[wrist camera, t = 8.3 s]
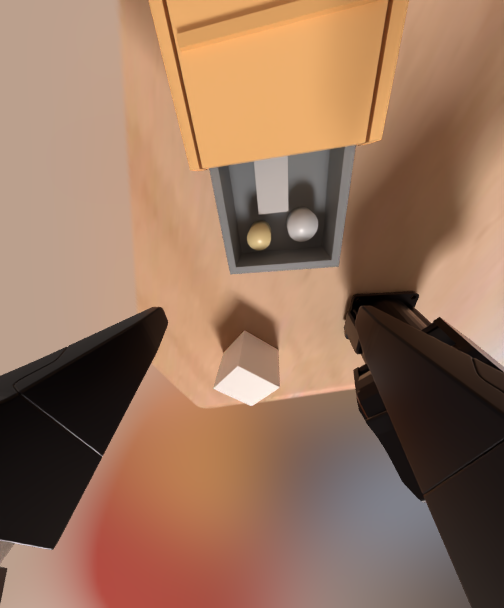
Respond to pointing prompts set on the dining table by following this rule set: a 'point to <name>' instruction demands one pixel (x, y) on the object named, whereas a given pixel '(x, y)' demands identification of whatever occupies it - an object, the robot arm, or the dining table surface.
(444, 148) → the dining table surface
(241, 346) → the white cube
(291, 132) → the lid
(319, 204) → the tub
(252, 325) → the dining table surface
